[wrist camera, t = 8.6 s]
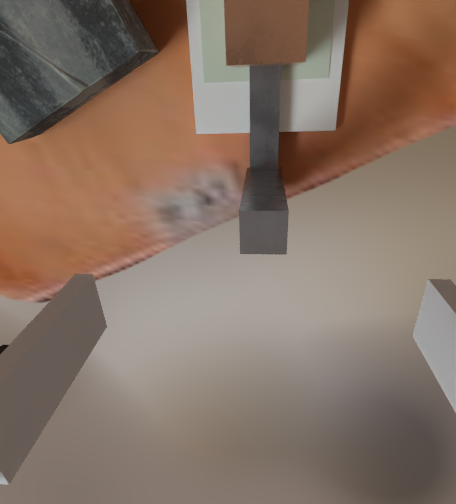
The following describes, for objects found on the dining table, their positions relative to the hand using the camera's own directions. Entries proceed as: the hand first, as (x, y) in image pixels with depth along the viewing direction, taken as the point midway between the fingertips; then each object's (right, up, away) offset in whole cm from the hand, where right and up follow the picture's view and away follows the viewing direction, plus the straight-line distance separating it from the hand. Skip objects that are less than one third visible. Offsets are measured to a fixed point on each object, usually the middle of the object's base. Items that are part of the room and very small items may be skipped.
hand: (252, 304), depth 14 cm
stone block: (-15, +20, +15) cm, 29 cm away
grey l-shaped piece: (+2, +14, +14) cm, 20 cm away
